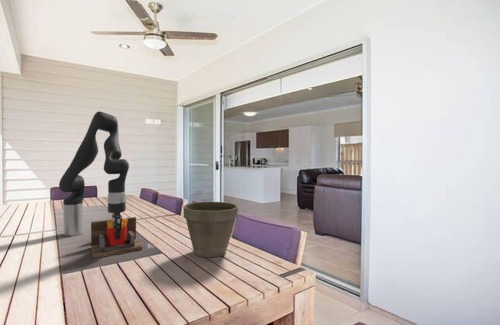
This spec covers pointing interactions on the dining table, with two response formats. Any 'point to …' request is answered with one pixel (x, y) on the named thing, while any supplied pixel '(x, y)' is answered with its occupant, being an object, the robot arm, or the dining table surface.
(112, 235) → the french fries
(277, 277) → the dining table surface
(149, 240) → the dining table surface
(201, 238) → the plant pot
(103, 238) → the wooden shelf
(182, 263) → the dining table surface
